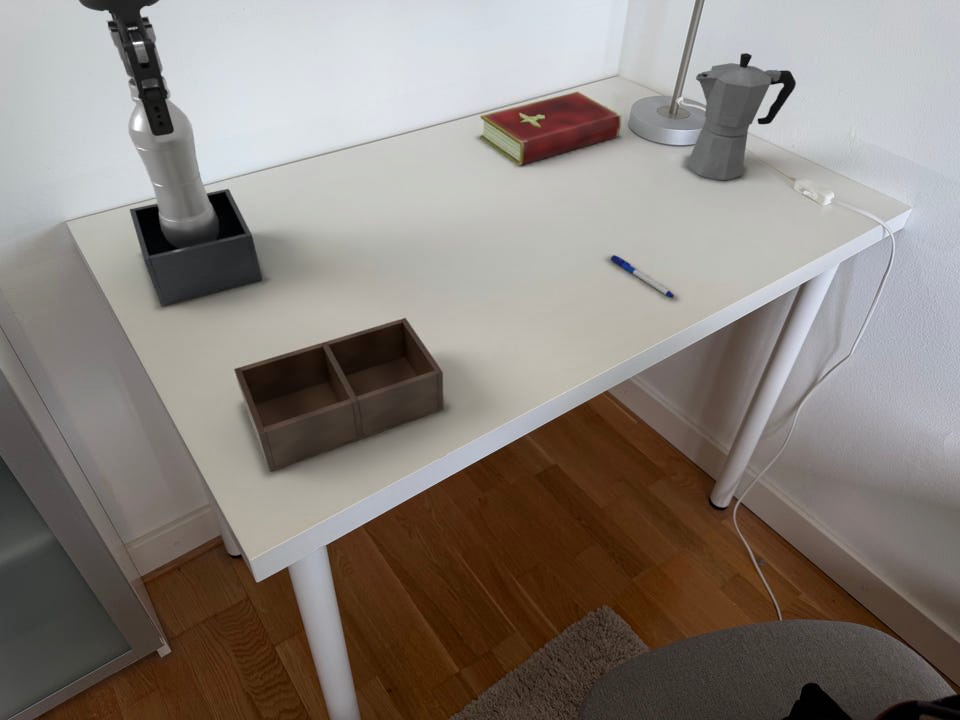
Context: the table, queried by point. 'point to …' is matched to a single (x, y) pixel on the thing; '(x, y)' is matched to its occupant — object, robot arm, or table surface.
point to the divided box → (339, 391)
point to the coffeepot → (733, 115)
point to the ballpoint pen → (640, 275)
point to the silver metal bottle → (174, 174)
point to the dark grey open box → (198, 254)
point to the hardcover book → (549, 127)
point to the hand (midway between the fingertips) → (158, 121)
